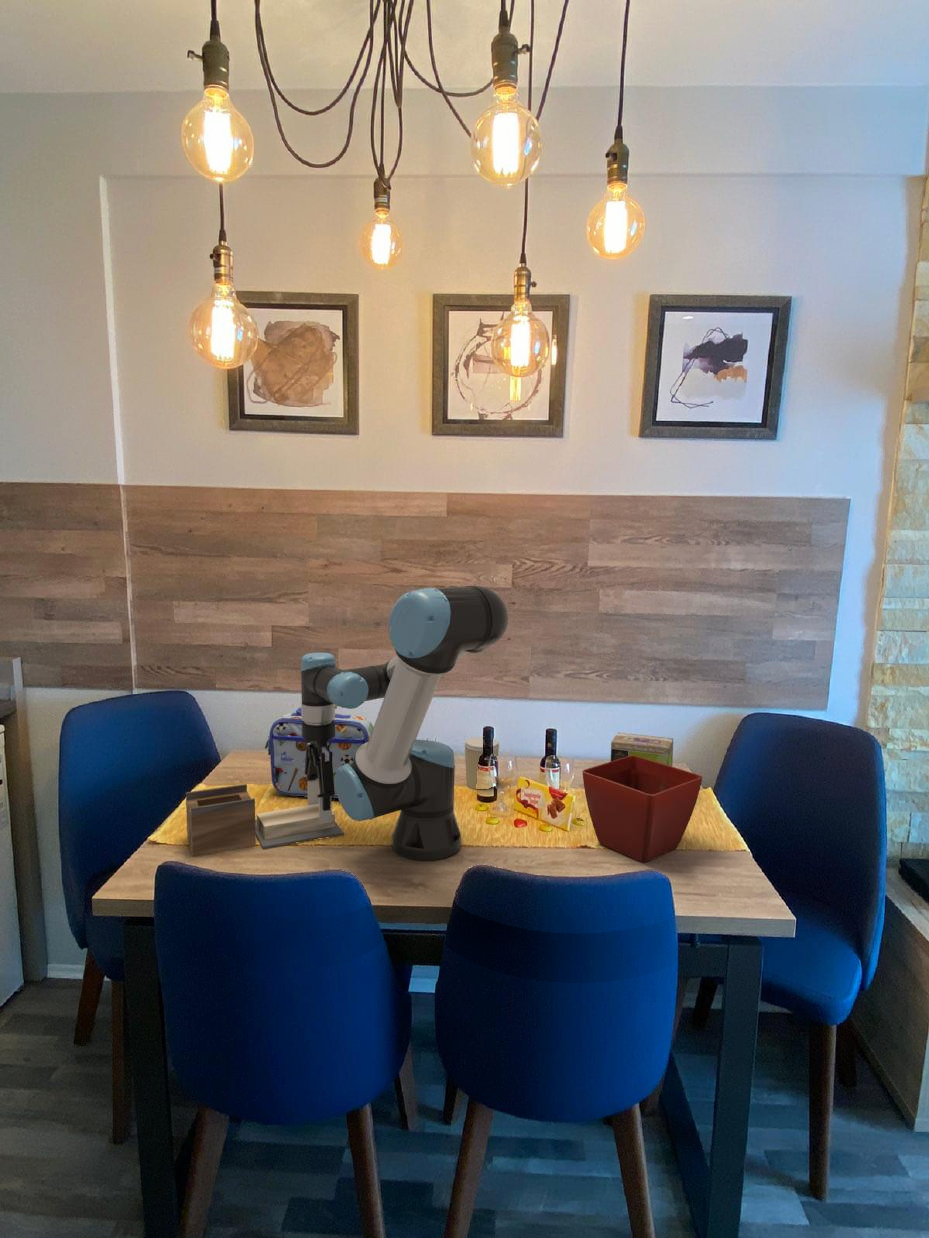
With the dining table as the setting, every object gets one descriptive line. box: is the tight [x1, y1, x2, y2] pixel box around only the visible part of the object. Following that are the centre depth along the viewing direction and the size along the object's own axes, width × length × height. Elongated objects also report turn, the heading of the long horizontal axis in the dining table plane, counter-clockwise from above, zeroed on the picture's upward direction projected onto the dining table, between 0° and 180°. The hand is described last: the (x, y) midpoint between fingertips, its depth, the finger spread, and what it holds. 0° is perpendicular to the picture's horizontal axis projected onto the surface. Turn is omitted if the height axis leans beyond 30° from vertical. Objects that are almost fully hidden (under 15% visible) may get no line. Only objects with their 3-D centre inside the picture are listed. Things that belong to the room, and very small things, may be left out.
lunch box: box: [264, 706, 374, 799], centre depth 193 cm, size 28×10×22 cm, turn 84°
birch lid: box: [256, 804, 336, 840], centre depth 173 cm, size 8×16×3 cm, turn 118°
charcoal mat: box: [255, 818, 345, 850], centre depth 173 cm, size 15×18×1 cm
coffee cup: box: [463, 736, 500, 790], centre depth 202 cm, size 9×9×12 cm
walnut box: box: [185, 783, 257, 857], centre depth 165 cm, size 10×13×10 cm
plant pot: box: [582, 755, 703, 863], centre depth 167 cm, size 19×19×17 cm
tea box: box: [610, 732, 674, 767], centre depth 198 cm, size 15×10×15 cm
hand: (319, 814), depth 175 cm, fingers open, 9 cm apart
